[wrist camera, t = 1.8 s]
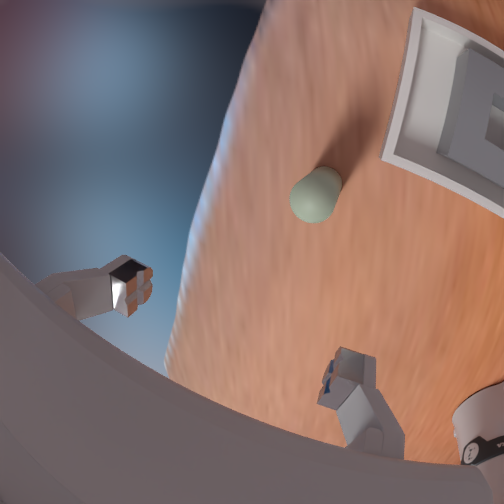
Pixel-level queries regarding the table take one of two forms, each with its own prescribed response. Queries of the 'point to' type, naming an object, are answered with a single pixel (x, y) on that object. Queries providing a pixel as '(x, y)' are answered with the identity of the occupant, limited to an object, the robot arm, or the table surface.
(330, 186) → the peg
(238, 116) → the table surface
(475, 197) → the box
